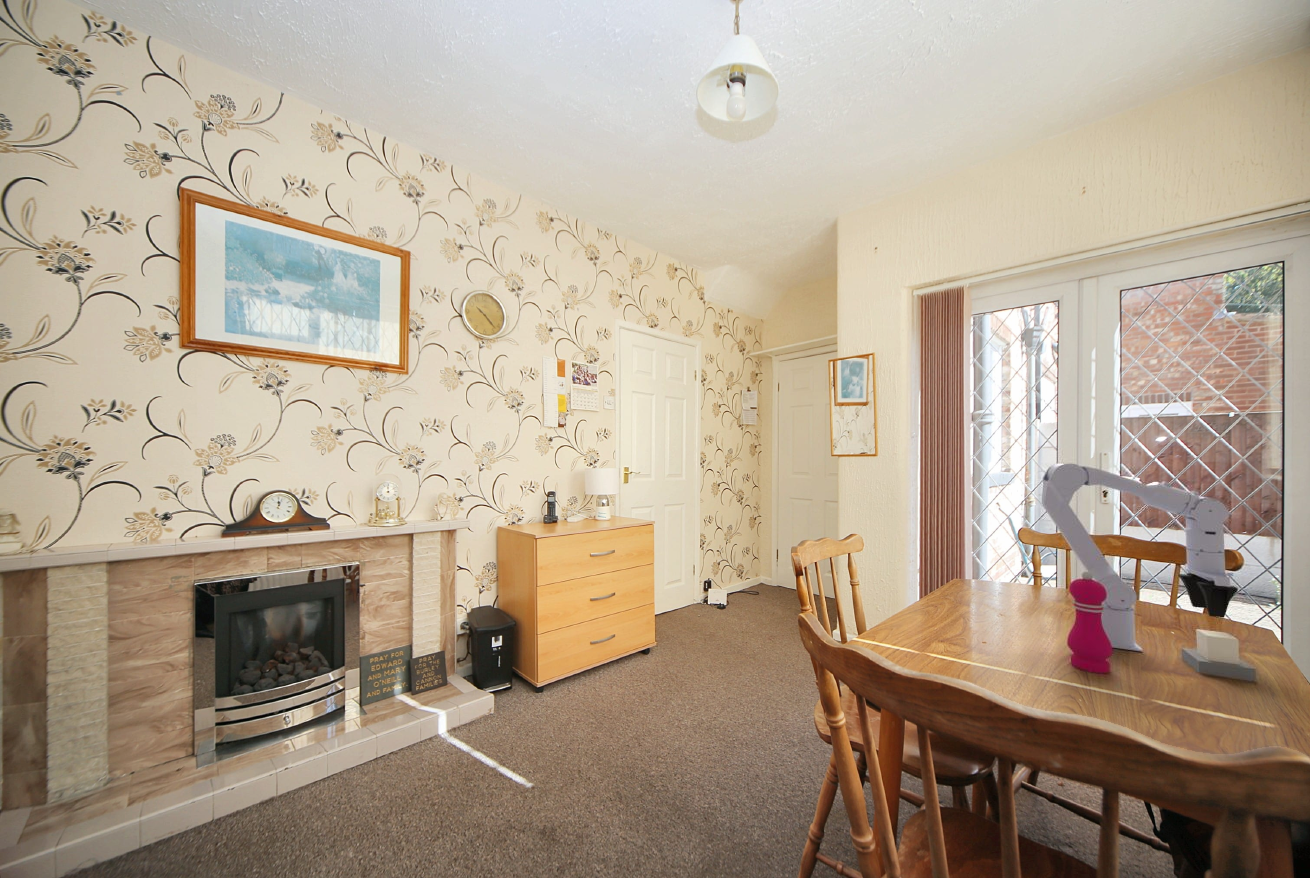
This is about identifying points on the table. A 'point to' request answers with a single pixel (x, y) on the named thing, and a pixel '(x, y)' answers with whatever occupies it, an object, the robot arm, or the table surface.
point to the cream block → (1217, 646)
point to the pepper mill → (1089, 626)
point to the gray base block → (1218, 666)
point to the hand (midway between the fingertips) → (1207, 611)
